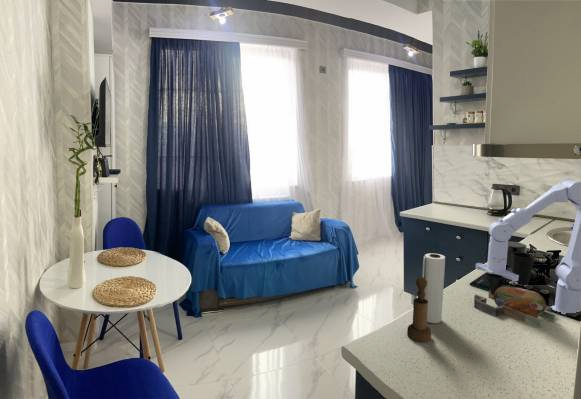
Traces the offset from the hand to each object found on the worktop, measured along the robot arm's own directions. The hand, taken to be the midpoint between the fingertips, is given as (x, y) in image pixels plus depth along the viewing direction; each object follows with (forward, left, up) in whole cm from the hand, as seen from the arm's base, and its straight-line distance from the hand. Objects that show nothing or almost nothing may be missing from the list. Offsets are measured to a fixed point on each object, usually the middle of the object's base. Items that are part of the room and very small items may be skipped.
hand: (494, 294), depth 133 cm
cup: (-26, -6, -4) cm, 27 cm away
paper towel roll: (+29, -2, -4) cm, 29 cm away
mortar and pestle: (+40, +4, -4) cm, 40 cm away
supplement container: (-38, -17, -4) cm, 42 cm away
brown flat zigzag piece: (0, +7, -3) cm, 7 cm away
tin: (0, +8, -4) cm, 9 cm away
